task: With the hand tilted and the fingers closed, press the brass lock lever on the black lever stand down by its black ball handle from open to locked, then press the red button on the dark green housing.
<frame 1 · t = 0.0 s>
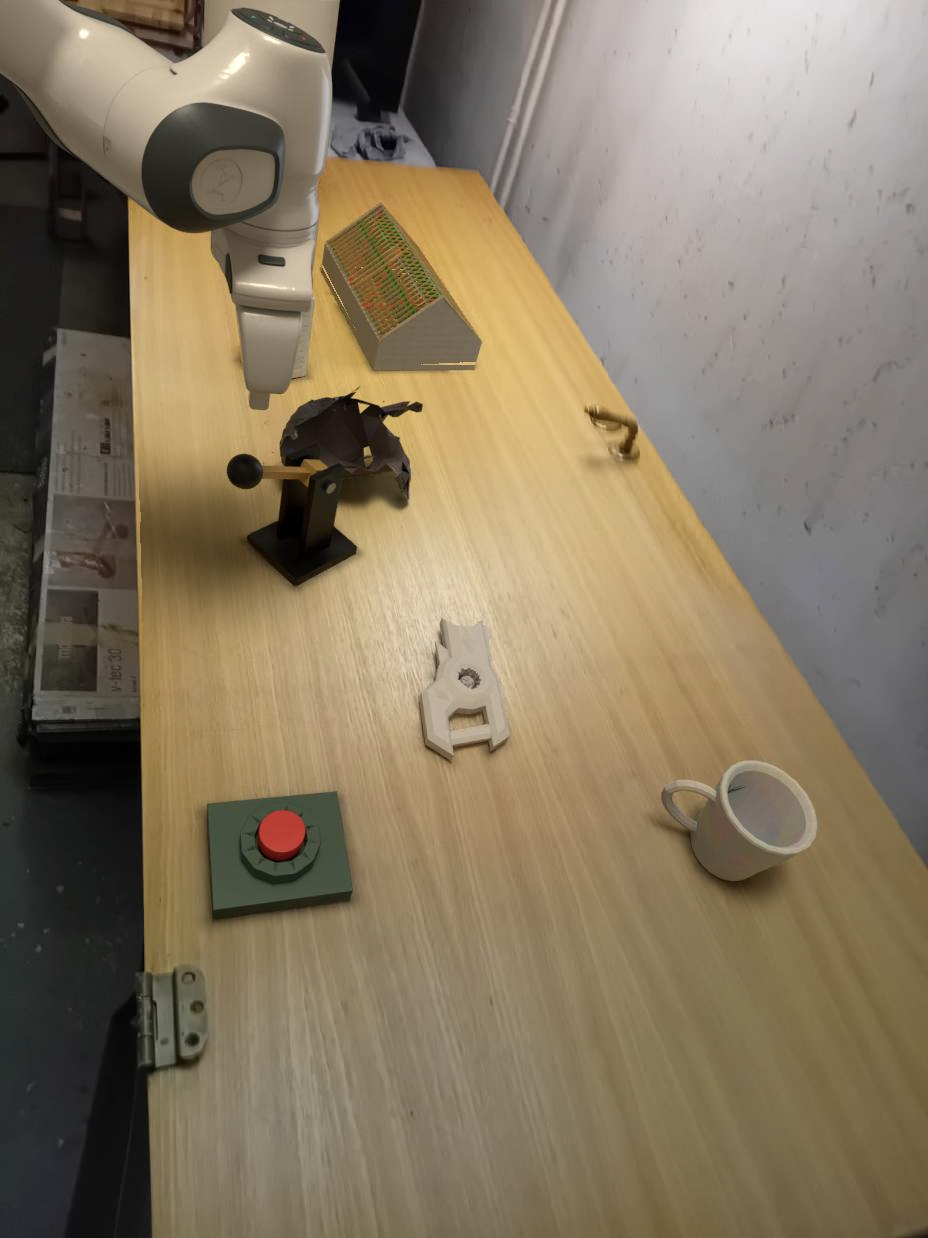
hand: (253, 375, 81), 25 cm above the workbench, tool pointing down, fingers open, 8 cm apart
small box: (272, 369, 125), on the workbench
mug: (701, 841, 89), on the workbench
crumpled paper: (335, 480, 112), on the workbench
button box: (277, 857, 76), on the workbench
lock lever: (279, 472, 88), point 14 cm above the workbench, hinge at 25.0°
lamp: (258, 215, 155), on the workbench
grey sloped slatted box: (396, 320, 143), on the workbench
beige holed clip: (458, 694, 93), on the workbench
black lever stand: (302, 547, 102), on the workbench
button: (281, 835, 72), point 4 cm above the workbench, slide at 0.1 cm
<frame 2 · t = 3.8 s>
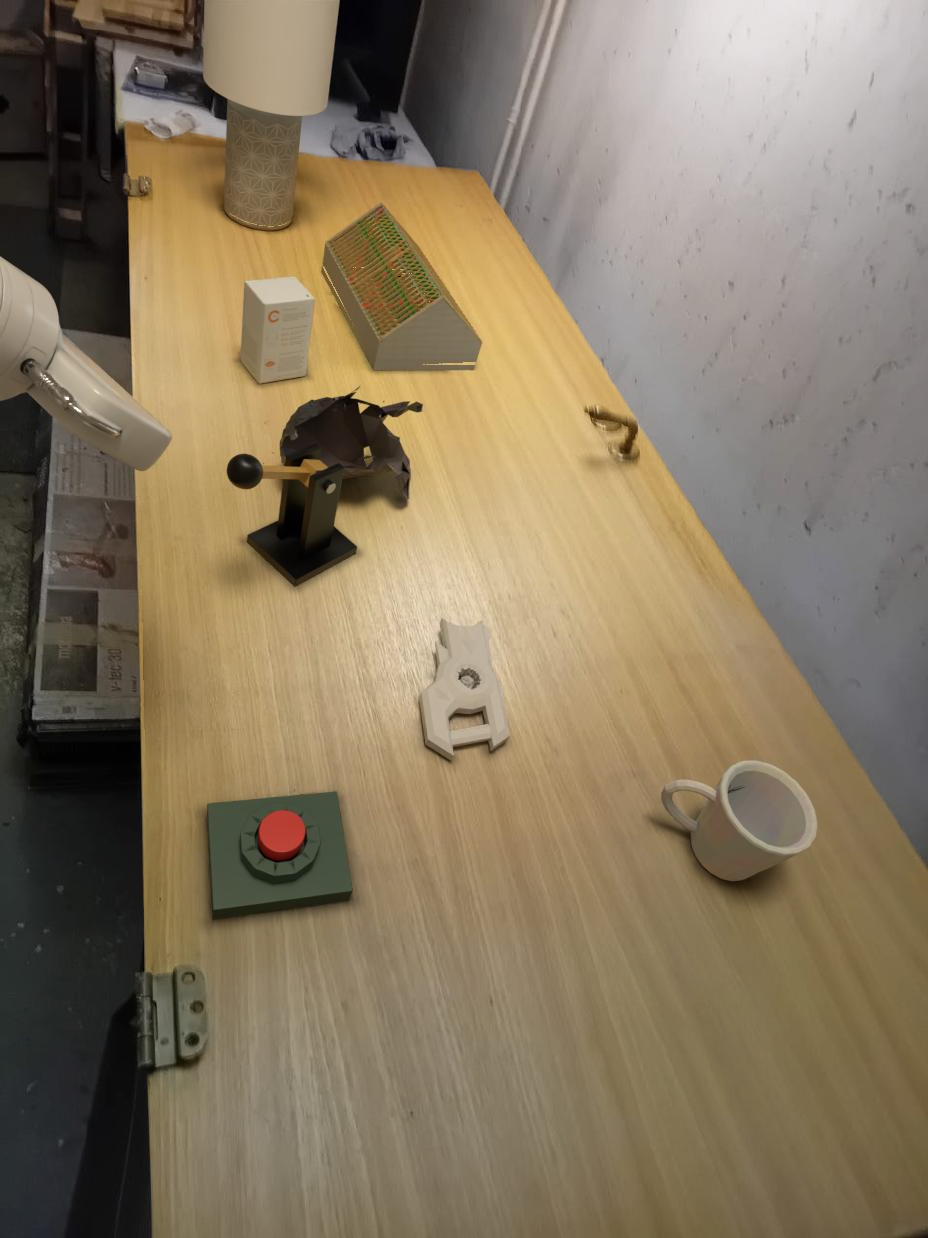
hand: (127, 408, 67), 29 cm above the workbench, tool tilted 45°, fingers closed
nothing on the workbench moved.
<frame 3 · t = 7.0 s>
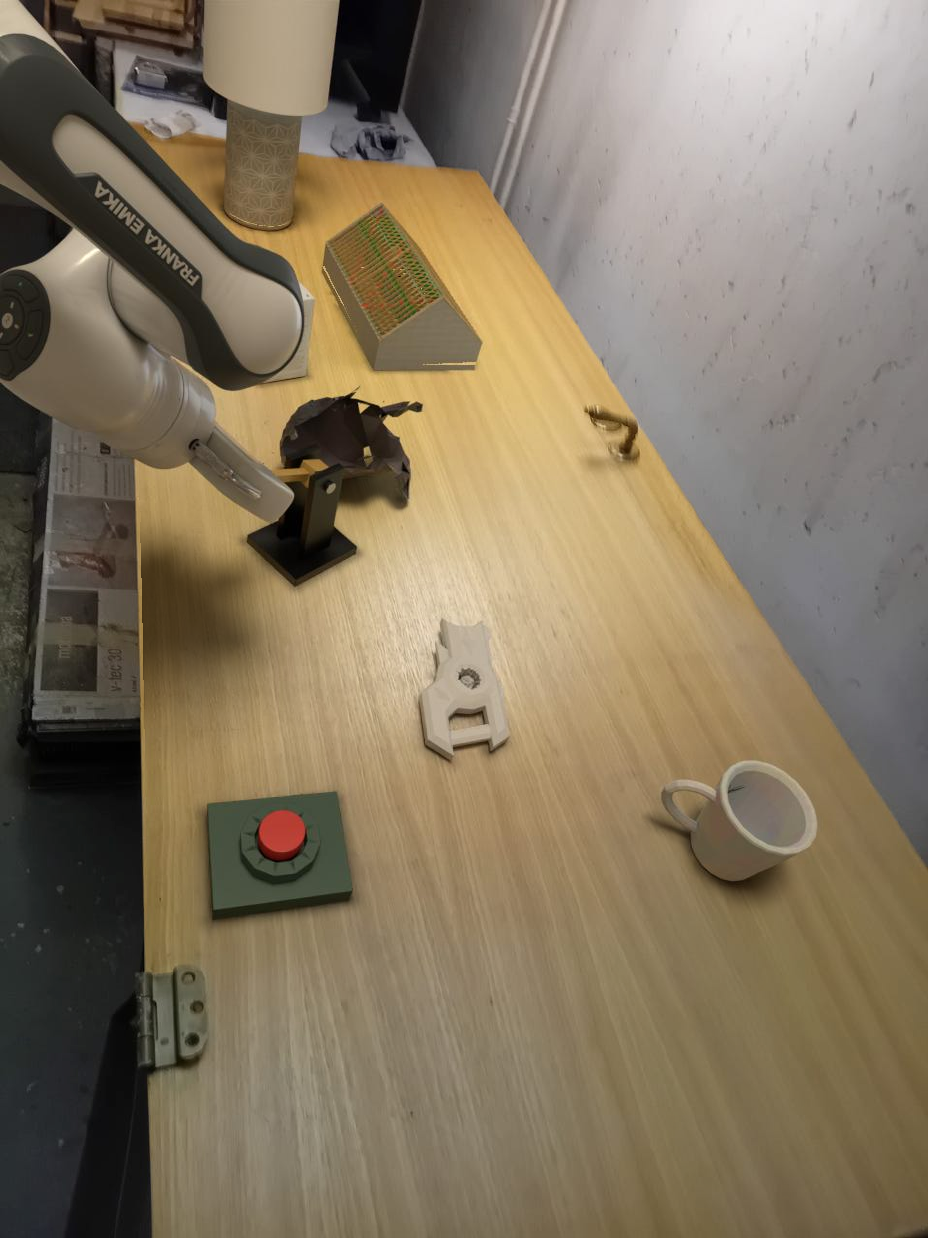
hand: (247, 466, 82), 18 cm above the workbench, tool tilted 45°, fingers closed
lock lever: (278, 476, 88), point 14 cm above the workbench, hinge at 20.3°, touching gripper
everything else where it was.
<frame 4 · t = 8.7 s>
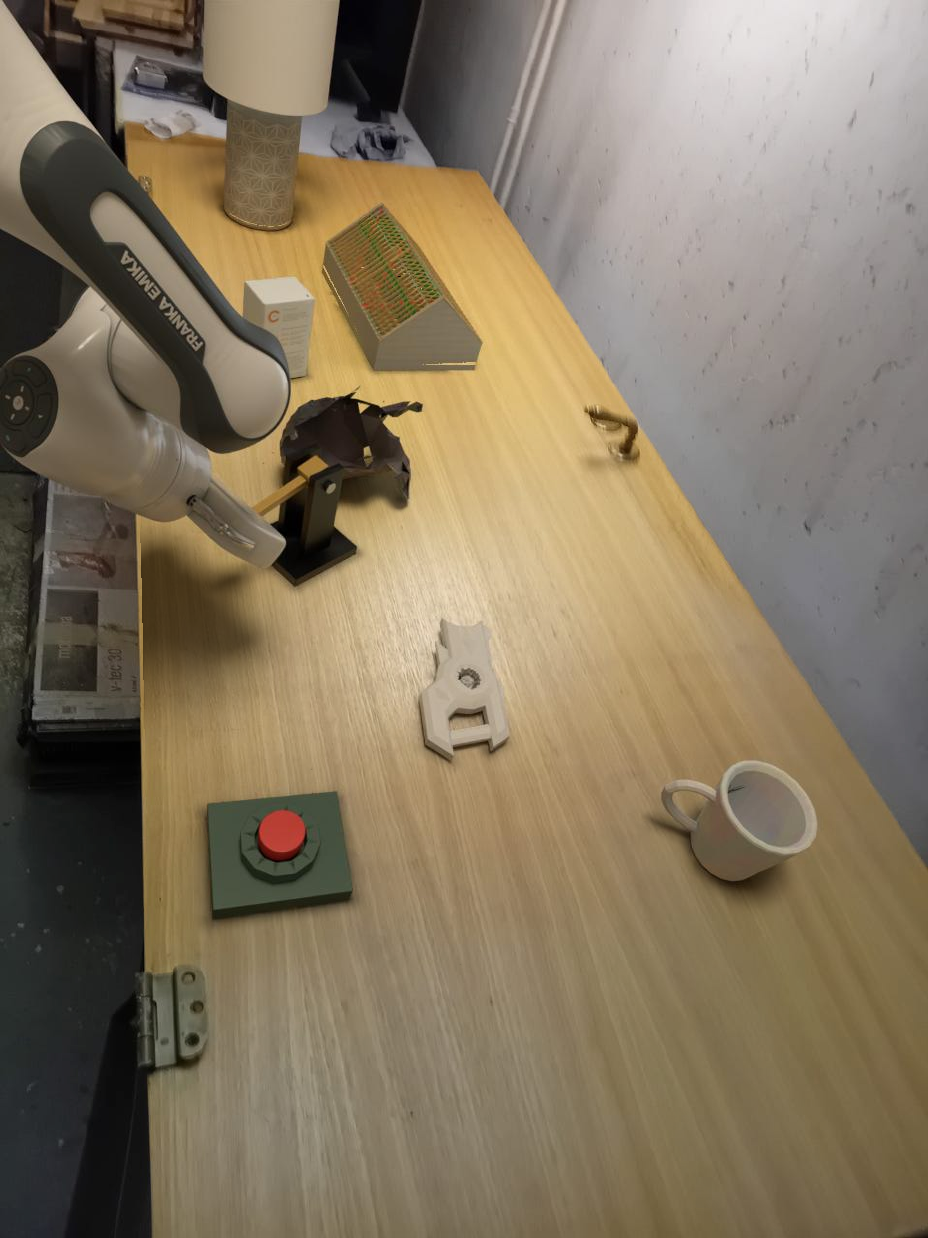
hand: (242, 510, 87), 12 cm above the workbench, tool tilted 45°, fingers closed
lock lever: (274, 500, 91), point 11 cm above the workbench, hinge at -14.5°, touching gripper
everything else where it was.
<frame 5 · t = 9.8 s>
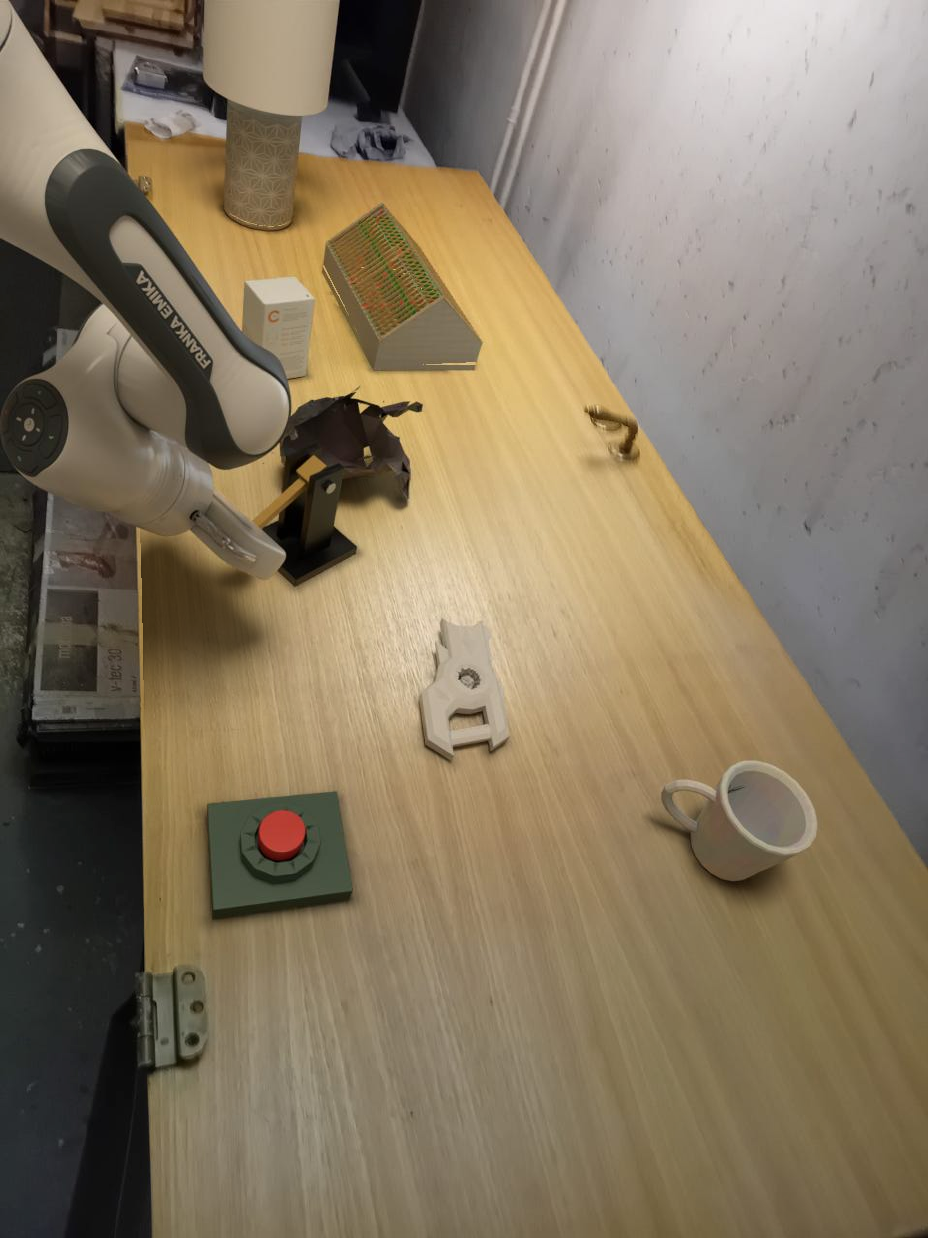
hand: (242, 523, 89), 9 cm above the workbench, tool tilted 45°, fingers closed
lock lever: (276, 506, 92), point 9 cm above the workbench, hinge at -27.9°
everything else where it was.
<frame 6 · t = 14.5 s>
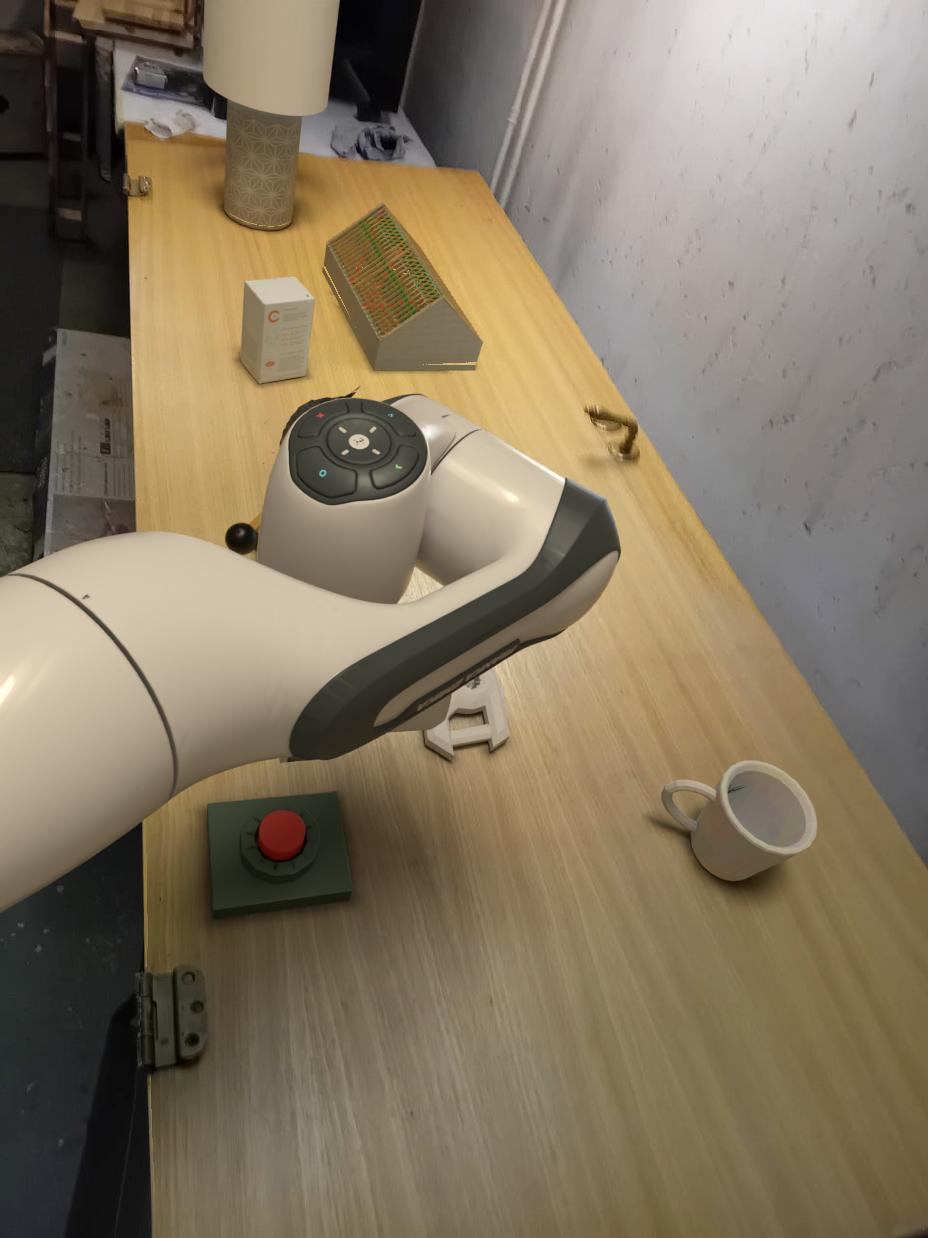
hand: (298, 753, 62), 19 cm above the workbench, tool pointing down, fingers closed
nothing on the workbench moved.
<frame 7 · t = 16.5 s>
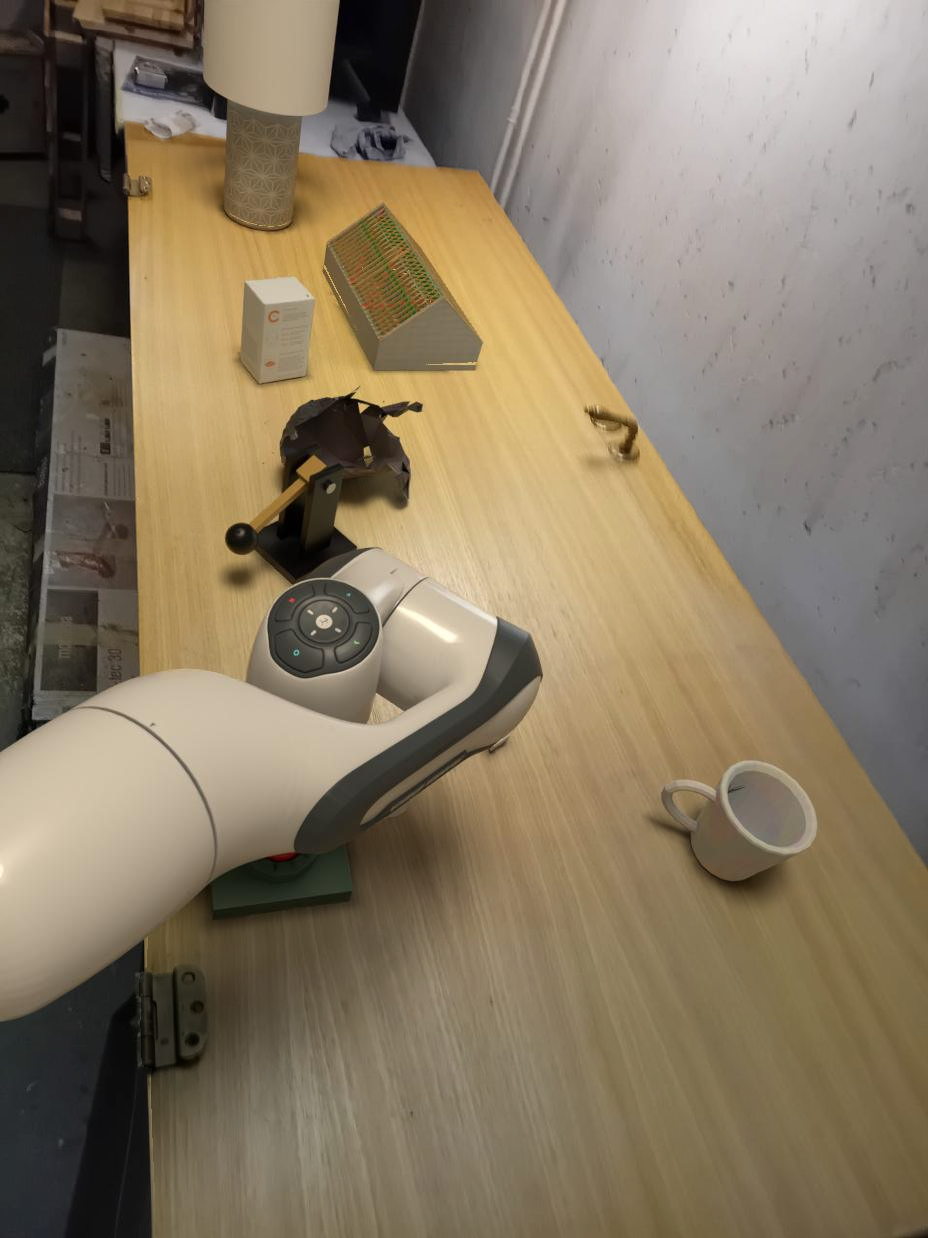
hand: (281, 835, 72), 5 cm above the workbench, tool pointing down, fingers closed, pressing on button
button: (280, 839, 73), point 4 cm above the workbench, slide at -0.7 cm, touching gripper
everything else where it was.
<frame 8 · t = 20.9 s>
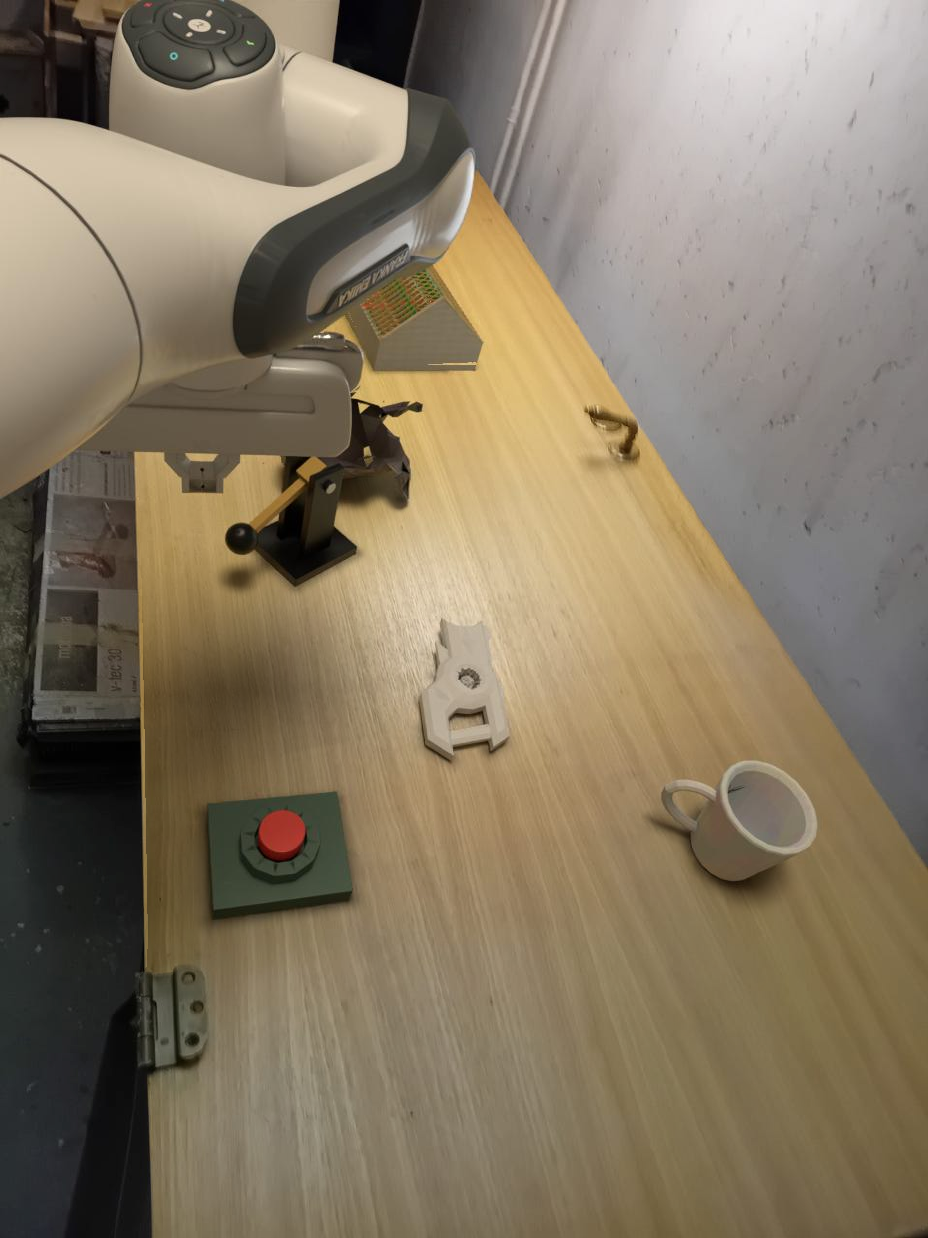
hand: (202, 487, 61), 31 cm above the workbench, tool pointing down, fingers closed
button: (281, 835, 72), point 4 cm above the workbench, slide at 0.1 cm
everything else where it was.
at the end: lock lever at -28° (first picture: +25°); button pushed in 1.1 cm at the most during the clip, back to where it started at the end; button slide at 0.1 cm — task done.
